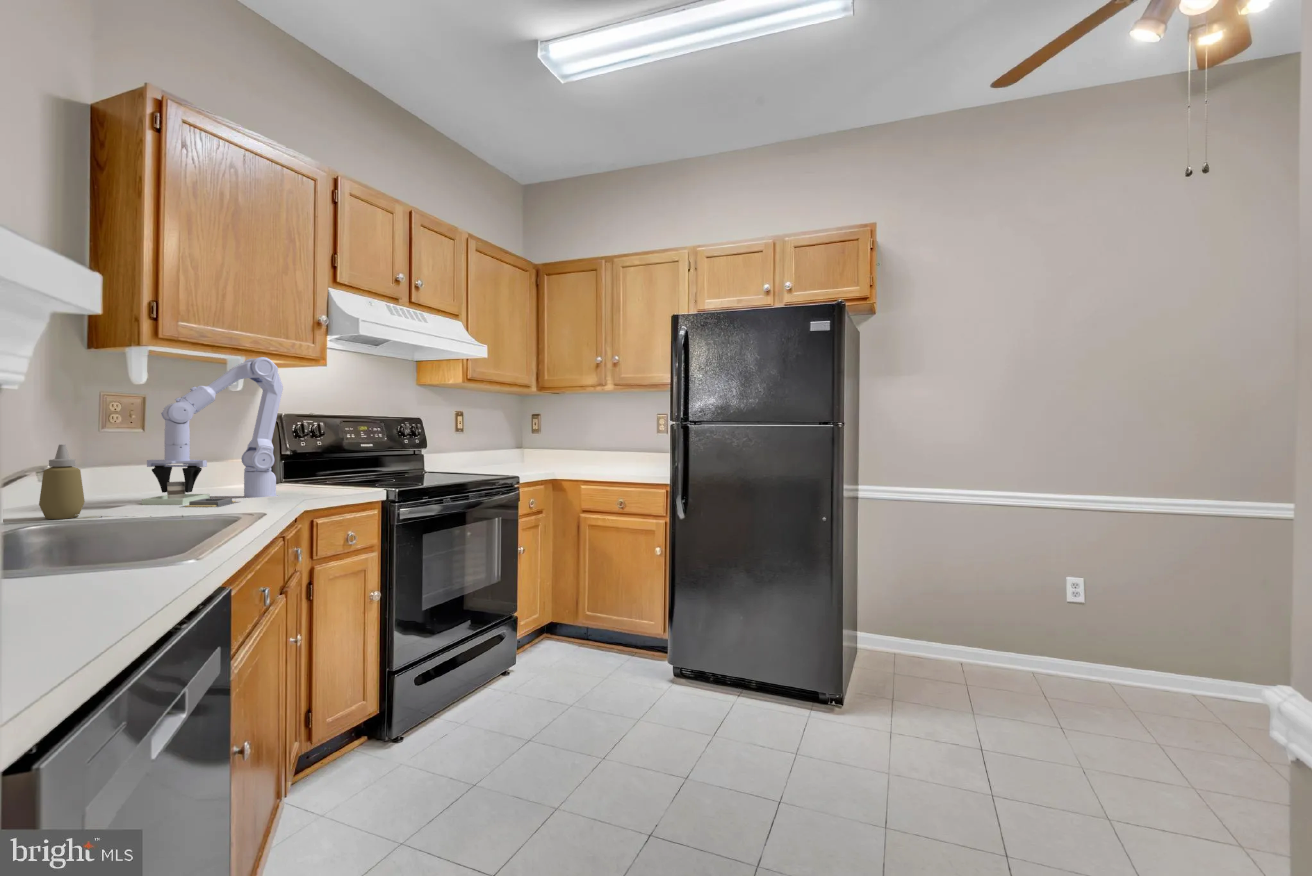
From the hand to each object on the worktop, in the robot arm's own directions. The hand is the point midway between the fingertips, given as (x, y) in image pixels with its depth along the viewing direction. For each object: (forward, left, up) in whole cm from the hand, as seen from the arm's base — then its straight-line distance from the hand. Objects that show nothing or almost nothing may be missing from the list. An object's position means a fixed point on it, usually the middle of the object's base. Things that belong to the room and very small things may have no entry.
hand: (177, 492), depth 176 cm
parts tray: (0, 0, -4) cm, 4 cm away
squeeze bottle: (+24, -12, -4) cm, 27 cm away
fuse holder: (+6, +12, -4) cm, 14 cm away
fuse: (0, 0, -3) cm, 3 cm away
